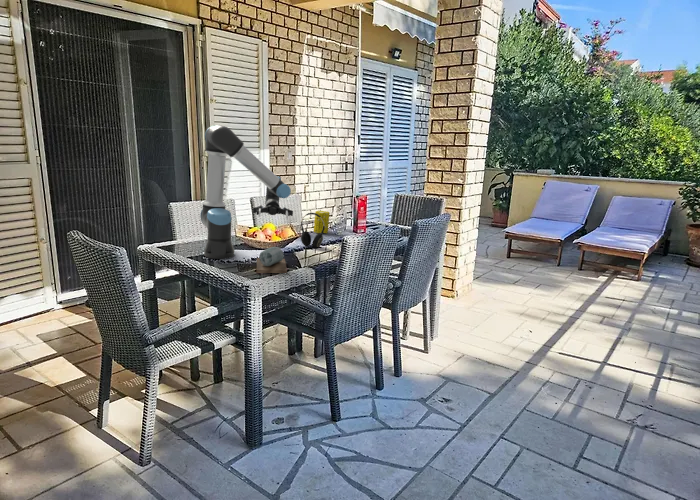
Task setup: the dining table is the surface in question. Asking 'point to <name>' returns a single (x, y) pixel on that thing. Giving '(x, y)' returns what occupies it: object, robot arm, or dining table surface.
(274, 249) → the grey rounded cylinder
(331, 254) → the dining table surface
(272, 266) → the stand
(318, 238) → the headphones
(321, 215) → the food
